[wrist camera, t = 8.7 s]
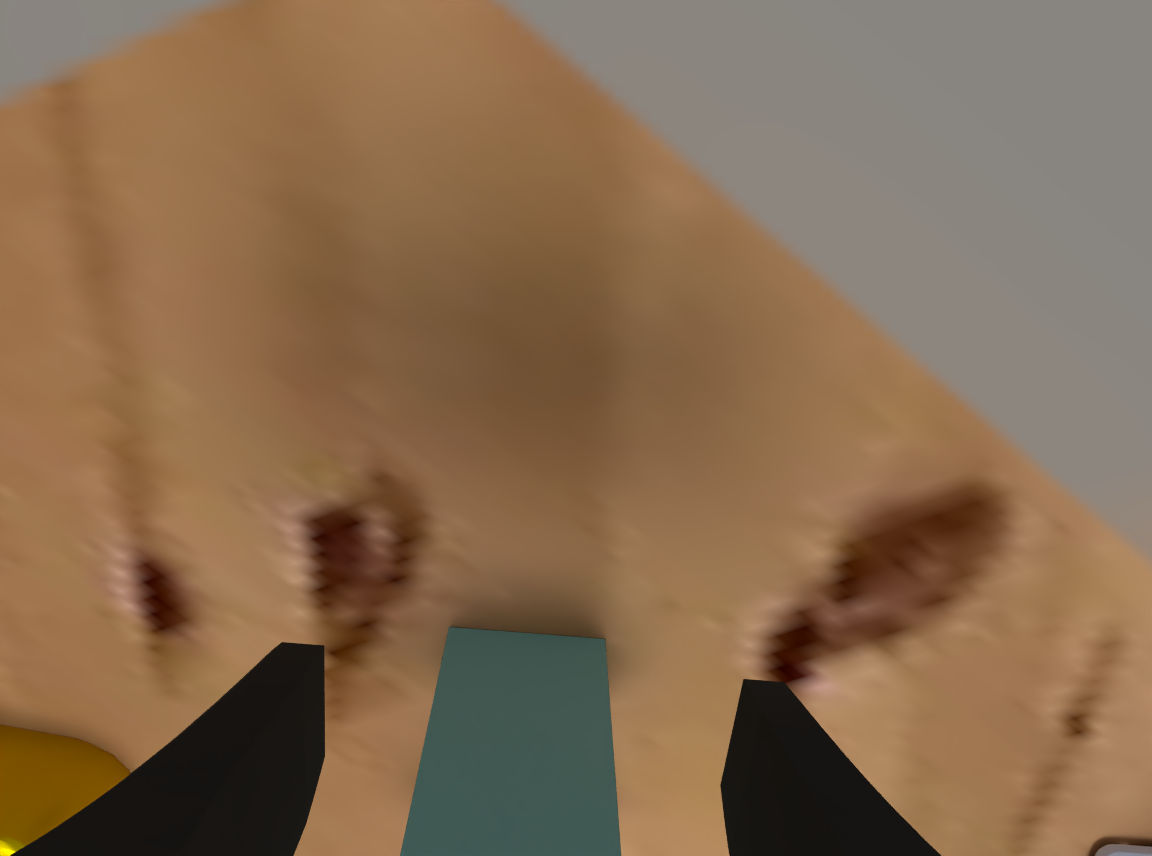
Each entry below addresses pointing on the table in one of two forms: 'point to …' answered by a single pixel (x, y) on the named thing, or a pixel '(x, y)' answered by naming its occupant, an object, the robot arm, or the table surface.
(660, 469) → the table surface
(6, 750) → the element tile
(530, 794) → the teal domino
